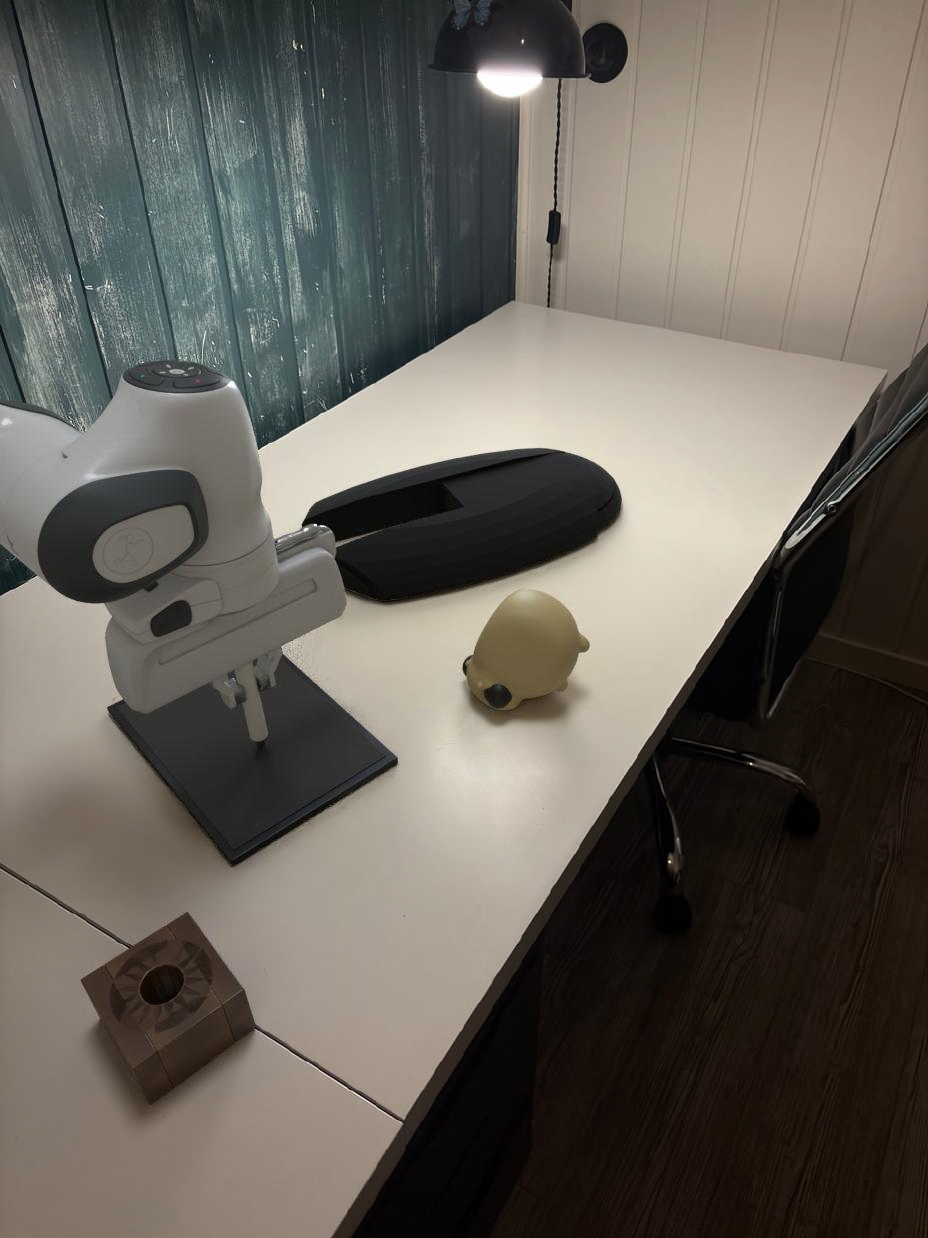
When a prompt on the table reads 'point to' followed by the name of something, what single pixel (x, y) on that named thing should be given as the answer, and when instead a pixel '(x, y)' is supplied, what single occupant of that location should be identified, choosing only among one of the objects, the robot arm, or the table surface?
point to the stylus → (252, 703)
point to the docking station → (465, 520)
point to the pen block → (169, 1005)
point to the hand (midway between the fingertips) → (249, 694)
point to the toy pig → (524, 650)
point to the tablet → (256, 758)
